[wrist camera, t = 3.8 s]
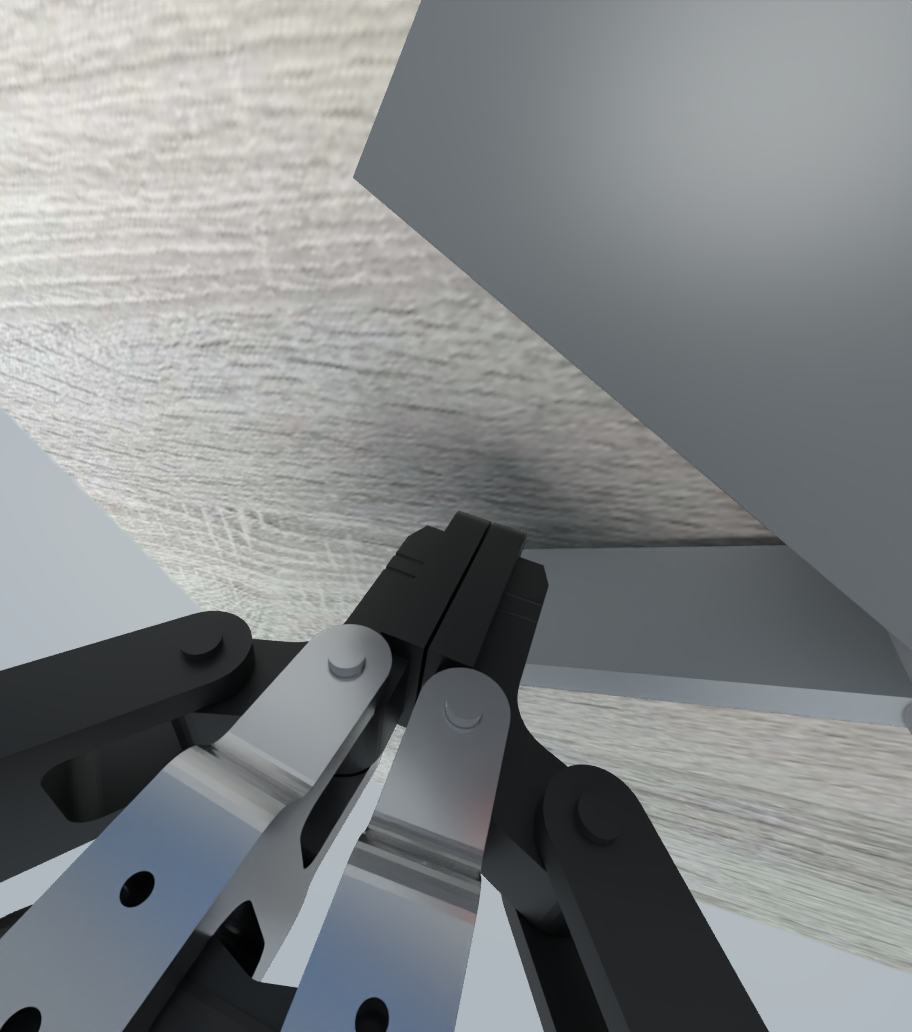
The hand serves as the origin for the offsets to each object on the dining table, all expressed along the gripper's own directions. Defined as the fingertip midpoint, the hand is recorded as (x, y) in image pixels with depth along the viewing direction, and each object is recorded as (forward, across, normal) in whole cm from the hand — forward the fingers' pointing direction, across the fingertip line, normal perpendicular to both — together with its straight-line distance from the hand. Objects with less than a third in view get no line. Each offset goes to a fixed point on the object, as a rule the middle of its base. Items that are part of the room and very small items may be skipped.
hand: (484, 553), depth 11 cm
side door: (+5, -4, +2) cm, 7 cm away
